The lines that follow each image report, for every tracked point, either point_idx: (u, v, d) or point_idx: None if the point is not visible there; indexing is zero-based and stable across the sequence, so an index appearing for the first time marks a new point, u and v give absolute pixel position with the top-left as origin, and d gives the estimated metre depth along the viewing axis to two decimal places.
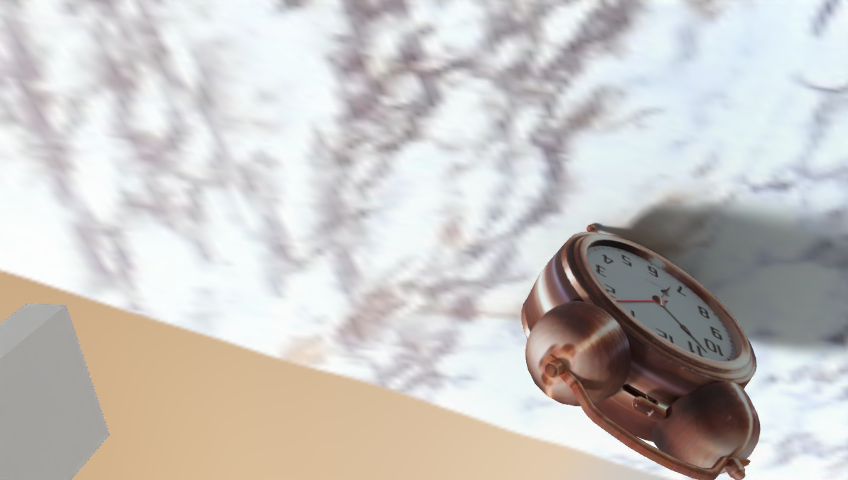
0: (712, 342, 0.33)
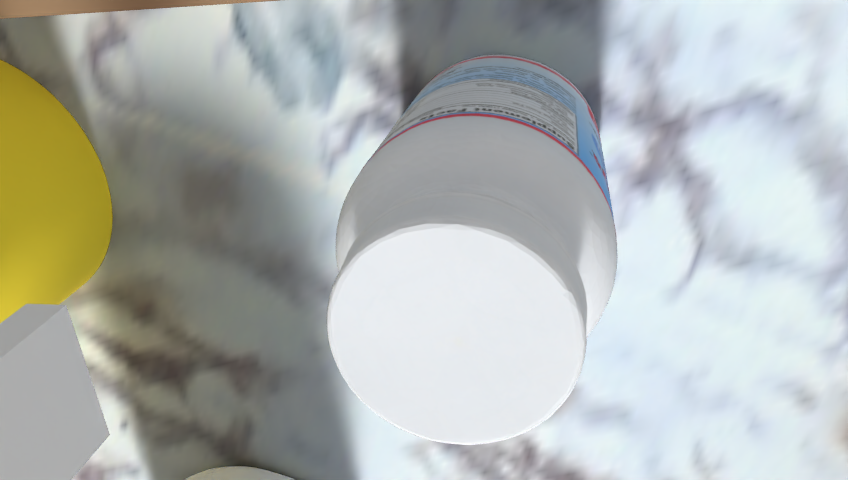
0: None
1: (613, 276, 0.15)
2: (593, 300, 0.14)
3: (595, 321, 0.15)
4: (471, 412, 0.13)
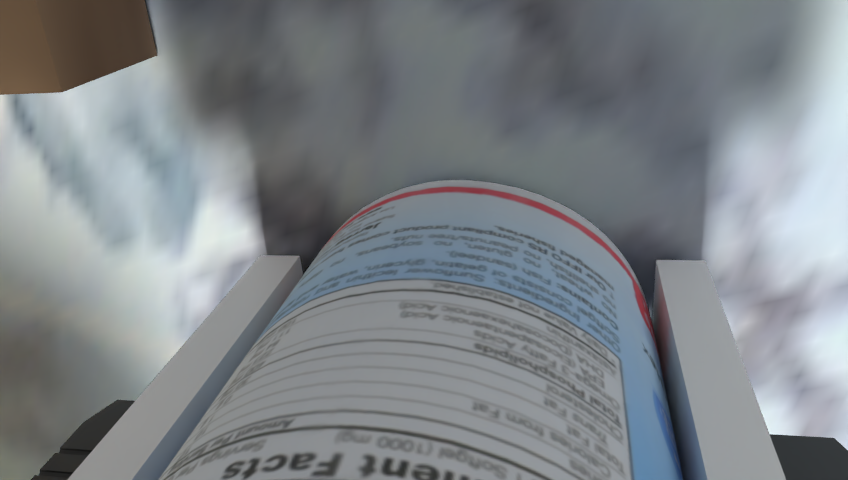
0: None
1: None
2: None
3: None
4: None
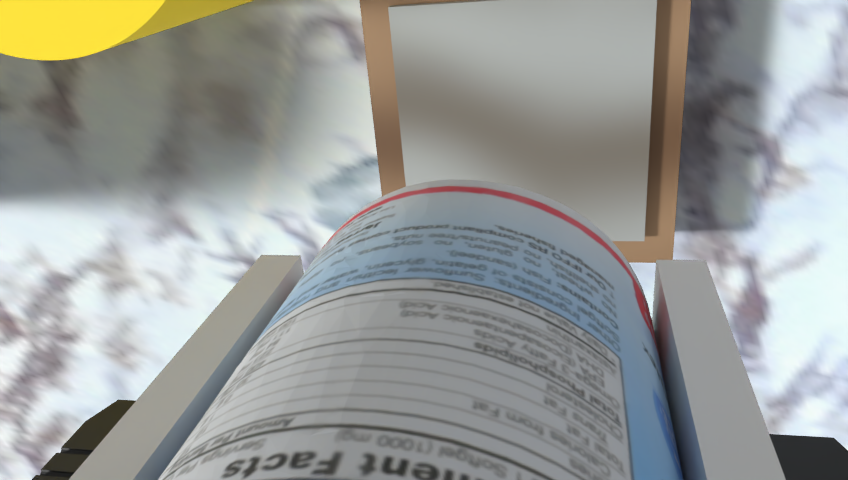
0: None
1: None
2: None
3: None
4: None
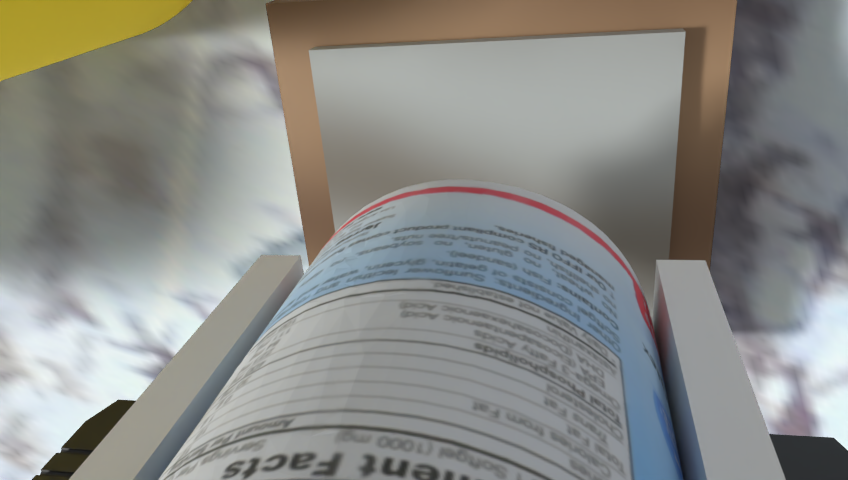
0: None
1: None
2: None
3: None
4: None
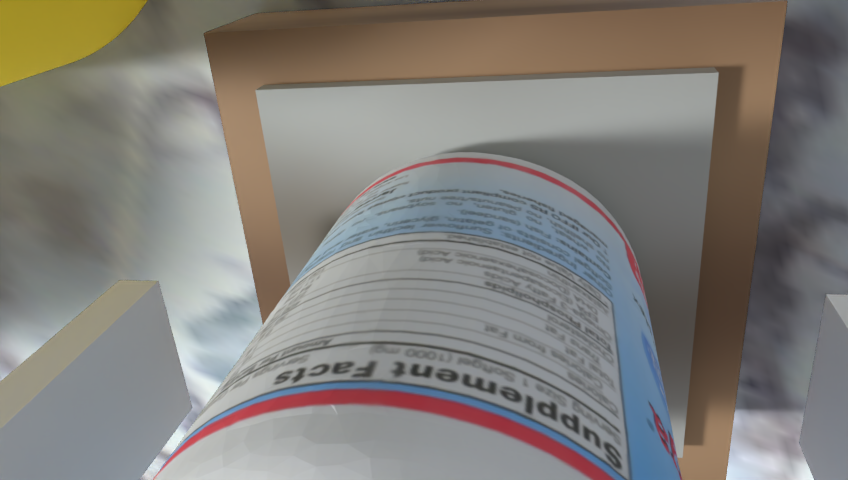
0: None
1: None
2: None
3: None
4: None
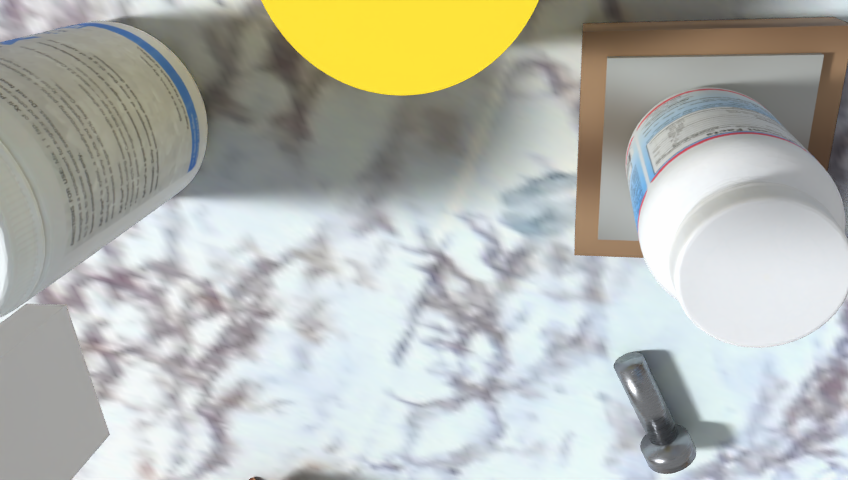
0: None
1: None
2: None
3: None
4: (764, 324, 0.20)
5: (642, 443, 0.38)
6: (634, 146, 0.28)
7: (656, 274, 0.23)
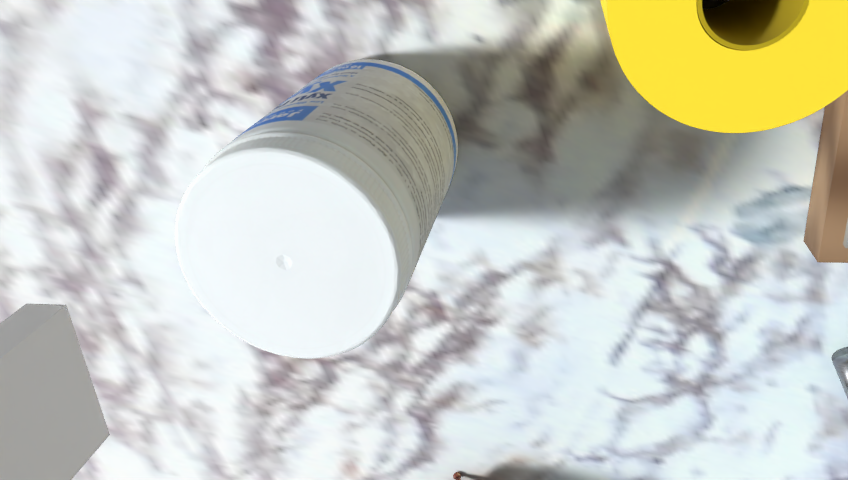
0: None
1: None
2: None
3: None
4: None
5: None
6: None
7: None
